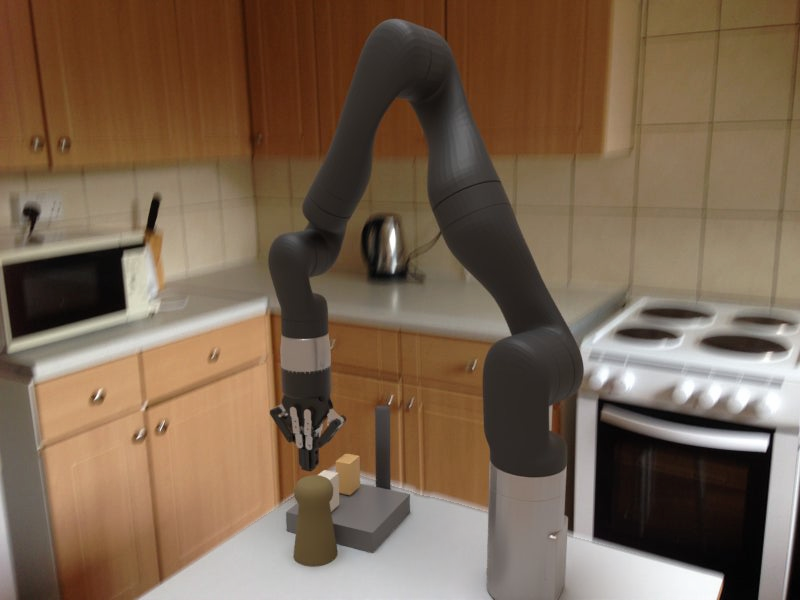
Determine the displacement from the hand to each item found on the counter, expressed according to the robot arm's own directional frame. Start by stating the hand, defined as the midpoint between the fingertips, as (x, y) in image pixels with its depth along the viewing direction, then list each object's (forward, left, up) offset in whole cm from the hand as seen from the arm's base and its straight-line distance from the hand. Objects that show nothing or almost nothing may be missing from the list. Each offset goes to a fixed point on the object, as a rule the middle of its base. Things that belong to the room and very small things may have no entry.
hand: (308, 468), depth 114 cm
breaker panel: (-9, +3, -5) cm, 11 cm away
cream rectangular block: (-7, +6, -2) cm, 10 cm away
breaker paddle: (-7, 0, -2) cm, 7 cm away
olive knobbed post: (-9, +13, -6) cm, 17 cm away
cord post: (-9, -8, -5) cm, 13 cm away
